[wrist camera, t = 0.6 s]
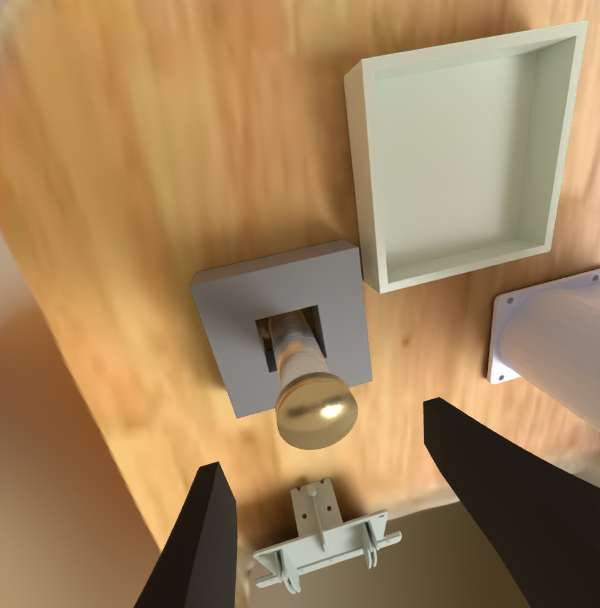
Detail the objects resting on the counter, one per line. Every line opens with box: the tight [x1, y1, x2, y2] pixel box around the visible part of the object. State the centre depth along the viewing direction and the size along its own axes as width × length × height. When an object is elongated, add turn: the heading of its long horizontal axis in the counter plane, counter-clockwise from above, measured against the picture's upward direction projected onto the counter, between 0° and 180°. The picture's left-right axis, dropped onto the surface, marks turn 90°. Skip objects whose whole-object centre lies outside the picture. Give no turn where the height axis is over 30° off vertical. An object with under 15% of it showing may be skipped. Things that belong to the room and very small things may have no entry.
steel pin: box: [268, 309, 358, 450], centre depth 16 cm, size 3×3×9 cm
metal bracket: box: [252, 477, 402, 594], centre depth 28 cm, size 14×6×15 cm
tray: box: [343, 20, 588, 294], centre depth 17 cm, size 11×11×2 cm
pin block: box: [189, 239, 373, 418], centre depth 18 cm, size 9×9×2 cm
